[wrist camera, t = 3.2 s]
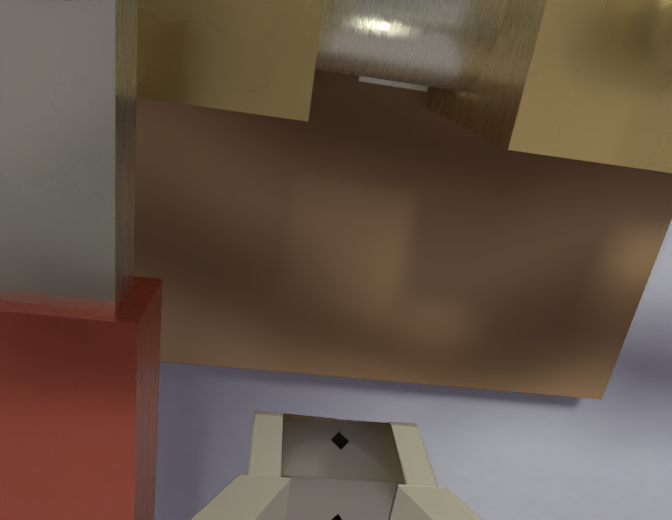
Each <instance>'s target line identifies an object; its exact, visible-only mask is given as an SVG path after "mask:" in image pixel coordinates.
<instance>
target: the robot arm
mask: <svg viewBox="0 0 672 520" xmlns="http://www.w3.org/2000/svg"><path fill="white" fill-rule="evenodd" d="M191 520H483V519H482V518H481V517H480V516H479V515H477V514H476V513H475V512H474V511H473V510H472V509H470V508H469V507H468V506H467V505H466V504H465V503H463V502H462V501H461V500H460V499H459V498H458V497H456V496H455V495H454V494H453V493H452V492H451V491H450V490H448V489H447V488H445V487H438V485H437V482H436V479H435V476H434V473H433V470H432V467H431V464H430V461H429V458H428V455H427V452H426V449H425V446H424V444H423V441H422V438H421V435H420V432H419V429H418V426H417V425H416V424H414V423H398V422H388V423H381V422H367V421H353V420H339V419H333V418H323V417H313V416H303V415H293V414H283V416H282V414H281V413H270V412H258V411H255V413H254V417H253V426H252V435H251V444H250V452H249V461H248V470H247V475H238V476H237V477H236V478H235V479H234V480H232V481H231V482H230V483H229V484H228V485H227V486H226V487H225V488H224V489H223V490H222V491H221V492H220V493H218V494H217V495H216V496H215V497H214V498H213V499H212V500H211V501H210V502H209V503H208V504H207V505H206V506H205V507H203V508H202V509H201V510H200V511H199V512H198V513H197V514H196V515H195V516H194V517H193V518H192V519H191Z"/></svg>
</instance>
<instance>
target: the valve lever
mask: <svg viewBox="0 0 672 520" xmlns="http://www.w3.org/2000/svg"><path fill="white" fill-rule="evenodd" d="M137 15H138V0H0V520H154V507H155V479H156V451H157V423H158V395H159V366H160V338H161V310H162V282H163V279H158V278H149V277H139V276H134V222H135V153H136V84H137Z"/></svg>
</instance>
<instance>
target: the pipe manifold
mask: <svg viewBox="0 0 672 520" xmlns="http://www.w3.org/2000/svg"><path fill="white" fill-rule="evenodd" d="M315 69H318V70H324V71H331V72H337V73H344V74H350V75H354V79H356V80H358V81H361V82H367V83H374V84H380V85H387V86H394V87H400V88H407V89H413V90H420V91H426V92H427V90H428V87H432V91H431V96H430V101H429V106H428V110H430V111H432V112H434V113H436V114H438V115H440V116H442V117H444V118H446V119H448V120H450V121H452V122H454V123H456V124H458V125H460V126H462V127H464V128H466V129H468V130H469V131H471V132H473V133H475V134H477V135H479V136H481V137H483V138H485V139H487V140H489V141H491V142H493V143H495V144H497V145H499V146H501V147H503V148H505V149H507V150H512V151H519V152H526V153H533V154H540V155H548V156H555V157H562V158H569V159H576V160H583V161H590V162H597V163H604V164H611V165H618V166H625V167H632V168H639V169H646V170H653V171H660V172H667V173H672V0H138V15H137V84H136V97H138V98H145V99H153V100H160V101H167V102H174V103H181V104H188V105H195V106H202V107H209V108H216V109H223V110H230V111H237V112H244V113H251V114H258V115H265V116H272V117H279V118H287V119H294V120H301V121H308V120H309V112H310V104H311V96H312V88H313V80H314V72H315Z"/></svg>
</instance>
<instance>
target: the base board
mask: <svg viewBox="0 0 672 520" xmlns="http://www.w3.org/2000/svg"><path fill="white" fill-rule="evenodd" d="M431 91H432V87H428V90H427V92H426V91H420V90H413V89H407V88H400V87H394V86H387V85H380V84H374V83H367V82H361V81H358V80H356V79H354V75H350V74H344V73H337V72H331V71H324V70H318V69H315V72H314V80H313V88H312V96H311V104H310V112H309V120H308V121H301V120H294V119H287V118H279V117H272V116H265V115H258V114H251V113H244V112H237V111H230V110H223V109H216V108H209V107H202V106H195V105H188V104H181V103H174V102H167V101H160V100H153V99H145V98H138V97H136V153H135V222H134V276H139V277H149V278H158V279H163V282H162V310H161V338H160V362H171V363H182V364H194V365H206V366H218V367H229V368H241V369H253V370H264V371H276V372H288V373H300V374H311V375H323V376H335V377H346V378H358V379H370V380H382V381H393V382H405V383H417V384H429V385H440V386H452V387H464V388H475V389H487V390H499V391H511V392H522V393H534V394H546V395H558V396H569V397H581V398H593V399H602V397H603V394H604V392H605V389H606V387H607V384H608V381H609V379H610V376H611V374H612V371H613V369H614V366H615V363H616V361H617V358H618V356H619V353H620V350H621V348H622V345H623V343H624V340H625V338H626V335H627V332H628V330H629V327H630V325H631V322H632V320H633V317H634V314H635V312H636V309H637V307H638V304H639V301H640V299H641V296H642V294H643V291H644V289H645V286H646V283H647V281H648V278H649V276H650V273H651V271H652V268H653V265H654V263H655V260H656V258H657V255H658V252H659V250H660V247H661V245H662V242H663V240H664V237H665V234H666V232H667V229H668V227H669V224H670V221H671V219H672V173H667V172H660V171H653V170H646V169H639V168H632V167H625V166H618V165H611V164H604V163H597V162H590V161H583V160H576V159H569V158H562V157H555V156H548V155H540V154H533V153H526V152H519V151H512V150H507V149H505V148H503V147H501V146H499V145H497V144H495V143H493V142H491V141H489V140H487V139H485V138H483V137H481V136H479V135H477V134H475V133H473V132H471V131H469V130H468V129H466V128H464V127H462V126H460V125H458V124H456V123H454V122H452V121H450V120H448V119H446V118H444V117H442V116H440V115H438V114H436V113H434V112H432V111H430V110H428V106H429V101H430V96H431Z"/></svg>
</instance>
